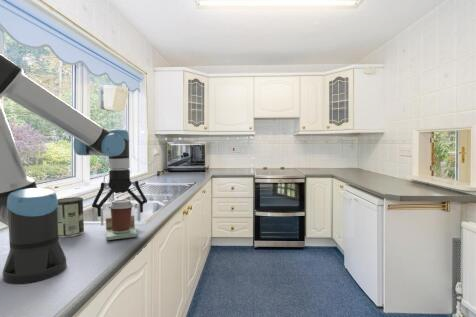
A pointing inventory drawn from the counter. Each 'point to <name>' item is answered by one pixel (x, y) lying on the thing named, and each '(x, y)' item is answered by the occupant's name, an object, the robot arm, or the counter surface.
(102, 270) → the counter surface
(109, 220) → the brown rectangular block
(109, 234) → the green square panel
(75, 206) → the coffee can
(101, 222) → the robot arm
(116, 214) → the coffee cup
